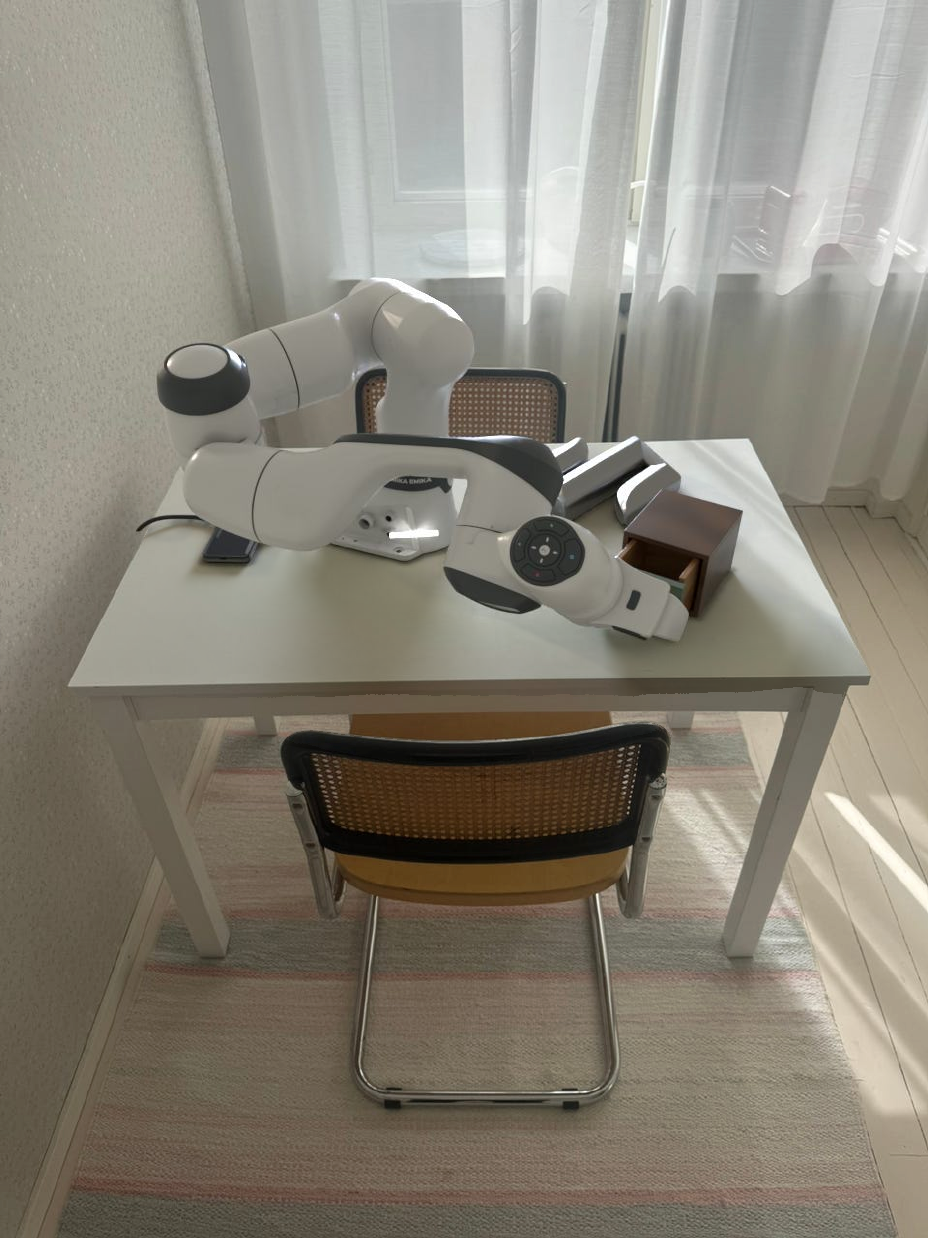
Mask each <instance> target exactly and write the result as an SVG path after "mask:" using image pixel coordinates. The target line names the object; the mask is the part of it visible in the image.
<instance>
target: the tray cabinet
mask: <svg viewBox="0 0 928 1238" xmlns="http://www.w3.org/2000/svg"><path fill="white" fill-rule="evenodd" d="M743 514H744V510H742V509H739V508H735V507H731V506H728V505H723V504H720V503H717V502H712V501H709V500H706V499H702V498H699V497H695V496H691V495H687V494H683V493H680V492H673V491H669V490H665V489H662V490H661V491H660V492H659V493H658V494H657V495H656V496H655V497H654V499H653V500H652V501H651V502H650V503H649V504H648V505H647V506H646V507H645V508H644V509H643V511H642V512H641V513H640V514H639V515H638V516H637V517H636V518H635V519H634V520H633V521H632V523H631V524H630V525H629V526H627V527H626V528H625V529H624V530H623V534H622V535H623V536H622V544H621V551H622V550H623V549H624V548H625V547H626V546H627V545H628V543H629V542H630V541H631V540H632V539H633V538H634V539H638V540H641V541H644V542H648V543H651V544H654V545H657V546H661V547H664V548H667V549H671V550H674V551H677V552H680V553H684V554H687V555H690V556H694V557H697V558H700V559H703V562H702V568H701V573H700V578H699V583H698V589H697V594H696V599H695V602H694V603H693V605H692V606H691V607H690V609H689V610H688V613H689V616H691V617H694V618H698V617H699V616H700V615H701V614H702V612H703V611H704V609H705V607H706V606H707V604H709V602H710V601H711V599H712V598H713V596H714V595H715V593H716V592H717V590H718V589H719V587H720V586H721V585H722V583H723V582H724V580H725V579H726V577H727V576H728V575H729V573H730V571H731V569H732V564H733V560H734V555H735V550H736V546H737V541H738V537H739V532H740V528H741V523H742V518H743Z"/></svg>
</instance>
